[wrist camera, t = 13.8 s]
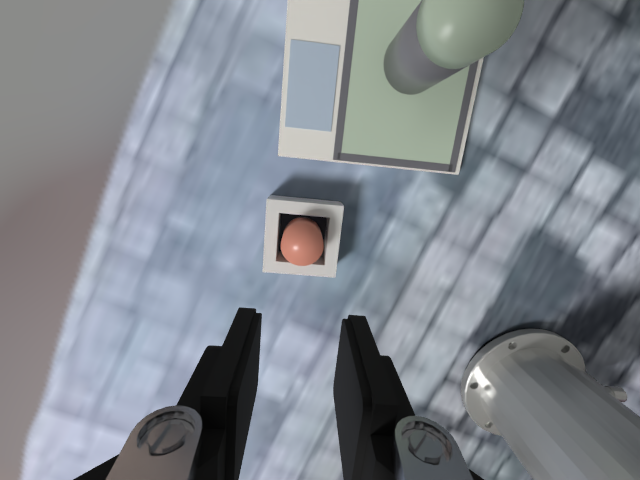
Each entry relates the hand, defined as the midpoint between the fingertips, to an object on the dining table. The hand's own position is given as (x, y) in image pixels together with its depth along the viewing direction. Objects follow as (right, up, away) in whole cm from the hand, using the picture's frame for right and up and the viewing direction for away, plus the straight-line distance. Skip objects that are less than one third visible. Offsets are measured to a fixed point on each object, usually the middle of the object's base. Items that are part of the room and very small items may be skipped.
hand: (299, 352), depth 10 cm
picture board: (+6, +18, +13) cm, 23 cm away
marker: (+8, +17, +13) cm, 23 cm away
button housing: (-1, +4, +17) cm, 17 cm away
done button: (-1, +4, +15) cm, 16 cm away
